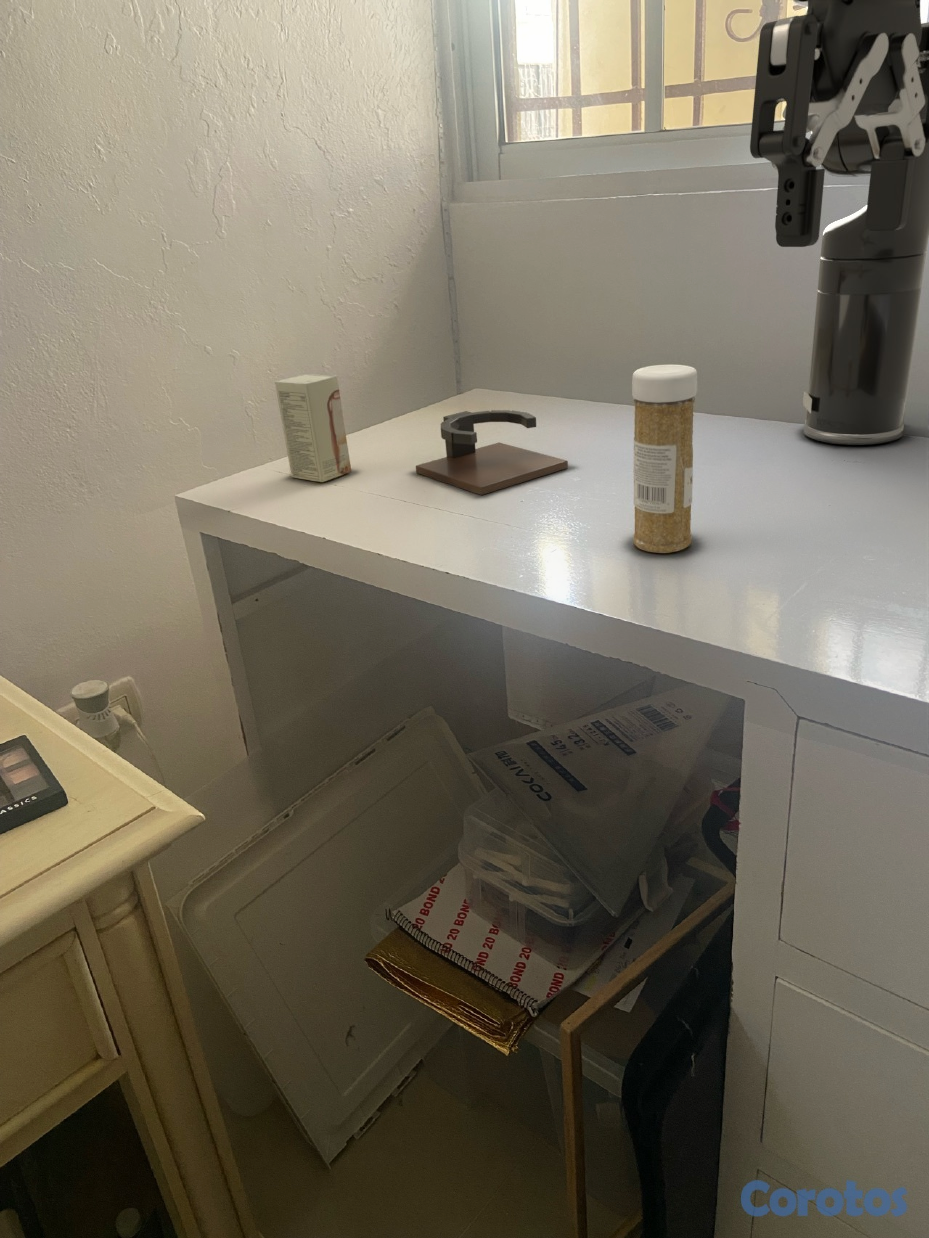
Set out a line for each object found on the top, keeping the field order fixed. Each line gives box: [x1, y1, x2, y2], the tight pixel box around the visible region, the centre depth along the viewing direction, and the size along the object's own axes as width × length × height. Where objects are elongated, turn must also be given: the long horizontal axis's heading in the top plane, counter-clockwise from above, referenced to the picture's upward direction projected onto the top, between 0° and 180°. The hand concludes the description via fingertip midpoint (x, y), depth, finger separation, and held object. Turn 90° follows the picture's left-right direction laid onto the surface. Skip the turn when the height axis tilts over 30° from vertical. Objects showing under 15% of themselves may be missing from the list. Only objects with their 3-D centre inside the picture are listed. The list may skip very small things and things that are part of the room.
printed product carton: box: [274, 373, 352, 483], centre depth 93 cm, size 5×4×10 cm
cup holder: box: [415, 409, 569, 496], centre depth 91 cm, size 11×11×5 cm
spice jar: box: [631, 364, 698, 554], centre depth 68 cm, size 5×5×13 cm
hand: (842, 237), depth 51 cm, fingers open, 8 cm apart
